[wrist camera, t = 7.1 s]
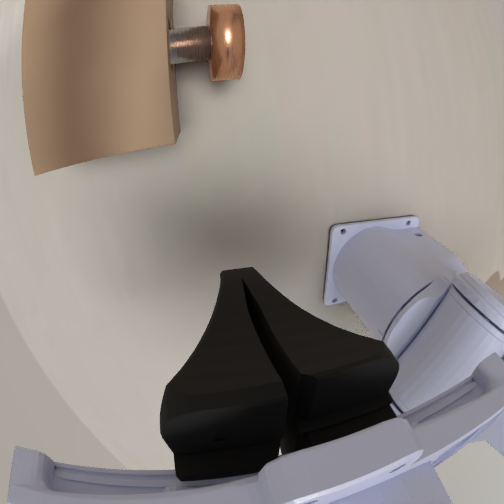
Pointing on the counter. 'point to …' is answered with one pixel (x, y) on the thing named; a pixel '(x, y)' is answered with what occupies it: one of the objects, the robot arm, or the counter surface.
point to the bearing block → (97, 79)
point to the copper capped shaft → (213, 43)
